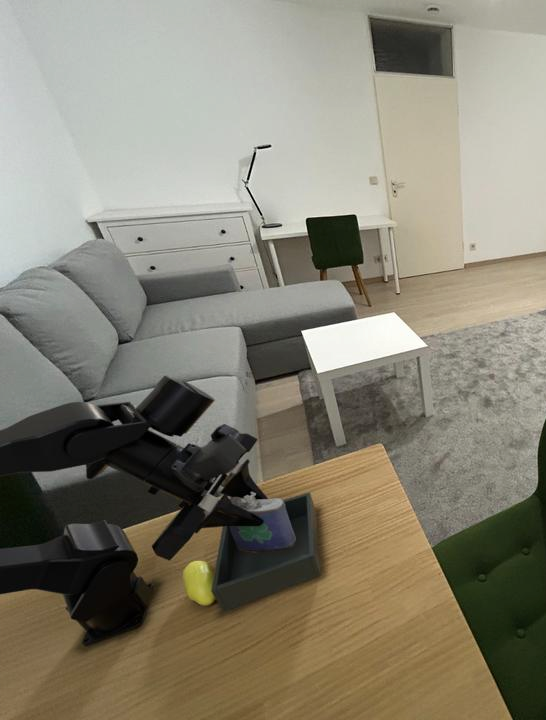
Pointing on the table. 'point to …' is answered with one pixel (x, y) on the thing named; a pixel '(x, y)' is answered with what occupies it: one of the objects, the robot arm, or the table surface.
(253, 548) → the flask
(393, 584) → the table surface
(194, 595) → the yellow rounded oblong piece
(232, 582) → the tray
